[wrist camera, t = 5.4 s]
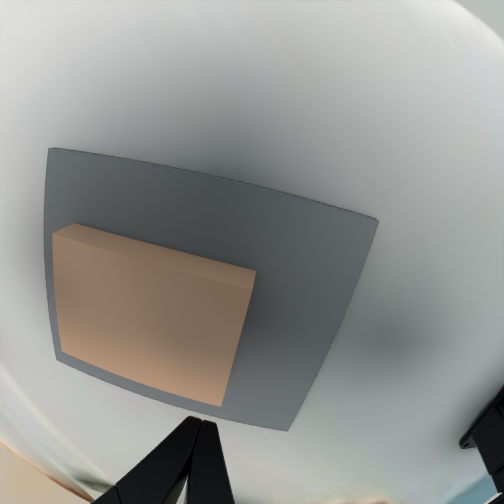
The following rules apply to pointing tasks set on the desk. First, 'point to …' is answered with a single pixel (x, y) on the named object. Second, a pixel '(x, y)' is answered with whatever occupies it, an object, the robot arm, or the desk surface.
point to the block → (149, 311)
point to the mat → (228, 251)
